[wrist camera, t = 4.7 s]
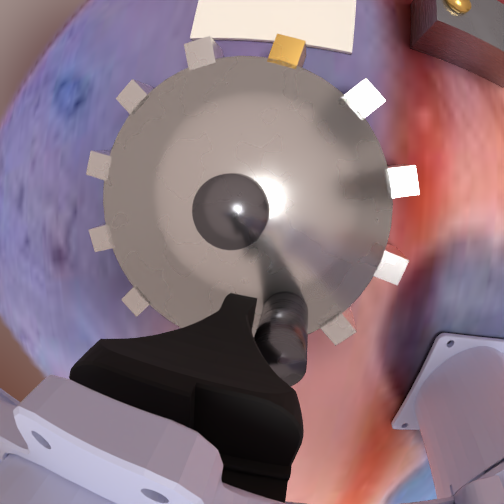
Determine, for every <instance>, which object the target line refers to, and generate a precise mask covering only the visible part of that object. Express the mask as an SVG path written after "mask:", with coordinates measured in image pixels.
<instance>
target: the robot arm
mask: <svg viewBox="0 0 504 504" xmlns="http://www.w3.org/2000/svg"><path fill="white" fill-rule="evenodd" d="M256 304H257V298H254V297H249V296H244V295H239V294H234V293H230V294H228V295H227V296H226V297H225V299H224V301H223V303H222V305H221V308H220V310H218V311H217V312H215V313H214V314H212V315H210V316H208V317H206V318H204V319H203V320H201V321H198V322H196V323H194V324H191V325H189V326H186V327H183V328H181V329H178V330H174V331H170V332H166V333H162V334H158V335H153V336H147V337H139V338H129V339H100V340H99V341H98V342H97V343H96V344H95V345H94V346H93V347H91V348H90V349H89V350H88V351H87V352H86V353H85V354H84V355H83V356H82V357H81V358H80V359H79V360H78V361H77V362H76V363H75V365H74V366H73V367H72V368H71V371H70V376H69V378H70V379H66V378H62V377H58V376H54V375H49V376H48V377H47V378H46V379H44V380H43V381H42V382H41V383H40V384H39V385H38V386H37V387H36V388H35V389H34V390H33V391H32V392H31V393H30V394H29V395H28V396H27V397H26V398H25V399H24V400H23V401H22V402H21V403H20V402H19V401H17V400H16V399H14V398H13V397H12V396H10V395H9V394H8V393H6V392H5V391H3V390H2V389H1V388H0V504H305V503H294V502H285V498H286V490H287V482H288V480H289V478H290V474H291V465H292V463H293V461H294V459H295V456H296V454H297V452H298V450H299V448H300V446H301V443H302V439H303V420H302V414H301V409H300V404H299V401H298V397H297V394H296V391H295V390H294V389H293V388H292V387H290V386H289V385H288V384H287V383H286V382H284V381H283V380H282V379H281V378H280V377H279V376H278V375H277V374H276V373H275V372H274V371H273V370H272V368H271V367H270V366H269V364H268V363H267V361H266V360H265V359H264V357H263V355H262V354H261V352H260V350H259V348H258V346H257V344H256V342H255V340H254V337H253V334H252V327H253V321H254V315H255V309H256ZM450 340H452V341H451V342H450V343H449V344H447V343H448V342H449V341H450ZM404 423H405V424H404ZM391 424H392V428H393V429H398V430H420V431H421V435H422V438H423V442H424V445H425V449H426V453H427V456H428V460H429V464H430V468H431V472H432V476H433V481H434V485H435V489H436V494H437V499H435V500H428V501H420V502H412V503H402V504H504V339H496V338H486V337H477V336H468V335H459V334H451V333H441V334H439V335H438V336H437V337H436V339H435V341H434V343H433V346H432V348H431V350H430V352H429V354H428V356H427V358H426V360H425V363H424V365H423V367H422V369H421V371H420V373H419V375H418V376H417V378H416V380H415V382H414V384H413V386H412V388H411V390H410V391H409V393H408V395H407V397H406V399H405V400H404V402H403V404H402V406H401V407H400V409H399V411H398V412H397V414H396V416H395V417H394V419H393V421H392V423H391Z"/></svg>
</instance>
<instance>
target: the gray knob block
mask: <svg viewBox="0 0 504 504" xmlns="http://www.w3.org/2000/svg"><path fill="white" fill-rule="evenodd" d="M410 49H413V50H416V51H419V52H422V53H425V54H428V55H431V56H434V57H436V58H439V59H441V60H444V61H447V62H449V63H452V64H454V65H456V66H459V67H461V68H463V69H466V70H468V71H470V72H472V73H475V74H477V75H479V76H481V77H483V78H485V79H487V80H489V81H491V82H493V83H495V84H497V85H499V86H501V87H504V4H502V3H500V2H499V1H497V0H413V1H412V3H411V39H410Z"/></svg>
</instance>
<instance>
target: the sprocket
mask: <svg viewBox="0 0 504 504" xmlns="http://www.w3.org/2000/svg"><path fill="white" fill-rule="evenodd" d="M184 47H185V52H186V57H187V62H188V67H189V68H186V69H184V70H182V71H180V72H178V73H177V74H175V75H173V76H171V77H170V78H168V79H166V80H165V81H164V82H162V83H161V84H160V85H158V86H157V87H156V88H153V87H152V86H149V85H147V84H144V83H141V82H139V81H136V80H133V79H132V80H131V81H130V83H129V84H128V85H127V86H126V87H125V88H124V90H123V91H122V92H121V93H120V94H119V95H118V97H117V98H116V99H117V100H118V101H119V102H120V104H121V105H122V106H123V107H124V108H125V109H126V110H127V111H128V113H129V114H130V115H129V117H128V118H127V119H126V121H125V123H124V125H123V126H122V128H121V130H120V132H119V133H118V135H117V138H116V140H115V142H114V145H113V147H112V150H99V151H91V153H90V157H89V162H88V167H87V173H86V174H87V175H90V176H93V177H96V178H99V179H102V180H104V196H103V204H104V215H105V222H106V223H105V224H102V225H100V226H97V227H94V228H92V229H89V233H90V236H91V240H92V244H93V247H94V250H95V252H98V251H102V250H107V249H111V248H113V251H114V254H115V256H116V258H117V260H118V262H119V264H120V266H121V268H122V270H123V272H124V273H125V275H126V276H127V278H128V280H129V281H130V283H131V284H132V285H133V288H132V289H131V290H130V291H129V292H128V293H127V294H126V295H125V296H124V297H123V298H122V301H123V302H124V303H125V304H126V306H127V307H128V308H129V309H130V310H131V311H132V312H133V313H134V314H135V316H136V317H137V316H138V315H139V314H140V313H141V312H142V311H143V310H145V309H146V308H147V307H148V306H149V305H150V306H152V307H153V308H154V309H155V310H156V311H157V312H159V313H160V314H161V315H162V316H164V317H165V318H166V319H168V320H169V321H171V322H172V323H174V324H176V325H177V326H179V327H180V328H183V327H186V326H189V325H191V324H194V323H196V322H198V321H201V320H203V319H204V318H206V317H208V316H210V315H212V314H214V313H215V312H217V311H218V310H220V308H221V305H222V303H223V301H224V299H225V297H226V296H227V295H228V294H230V293H234V294H239V295H244V296H249V297H254V298H257V304H256V309H255V315H254V321H253V327H252V334H253V337H254V340H255V342H256V344H257V346H258V348H259V350H260V352H261V354H262V355H263V357H264V359H265V360H266V361H267V363H268V364H269V366H270V367H271V368H272V370H273V371H274V372H275V373H276V374H277V375H278V376H279V377H280V378H281V379H282V380H283V381H284V382H286V383H287V384H288V385H289V386H292V385H294V384H296V383H298V382H299V381H300V380H301V379H302V378H303V376H304V374H305V372H306V365H307V338H308V334H310V333H312V332H314V331H316V330H318V329H321V330H322V331H323V332H324V333H325V334H326V335H327V337H328V338H329V339H330V340H331V341H332V342H333V343H334V344H335V346H336V345H337V344H339V343H341V342H342V341H344V340H345V339H347V338H348V337H350V336H351V335H353V334H354V333H356V332H357V331H356V327H355V322H354V318H353V314H352V311H351V310H350V309H349V307H350V305H351V304H352V303H353V302H354V301H355V300H356V299H357V298H358V297H359V296H360V295H361V293H362V292H363V291H364V289H365V288H366V287H367V285H368V284H369V282H370V281H371V279H372V277H373V276H375V277H377V278H380V279H382V280H385V281H388V282H390V283H393V284H395V285H398V283H399V281H400V279H401V277H402V275H403V273H404V271H405V268H406V266H407V264H408V262H409V260H408V259H407V258H406V257H405V256H404V254H403V253H402V252H401V251H400V250H399V249H398V248H397V247H394V246H392V245H390V244H387V242H388V238H389V233H390V228H391V221H392V206H393V202H392V198H397V197H405V196H412V195H419V186H418V178H417V171H416V165H406V164H399V165H391V166H387V162H386V160H385V157H384V154H383V152H382V149H381V146H380V144H379V142H378V140H377V138H376V136H375V134H374V132H373V131H372V129H371V127H370V125H369V124H368V122H367V121H366V120H365V117H367V116H368V115H369V114H370V113H372V112H373V111H374V110H375V109H377V108H378V107H379V106H380V105H381V104H383V103H384V102H385V101H386V100H385V99H384V98H383V96H382V95H381V94H380V93H379V92H378V91H377V90H376V88H375V87H374V86H373V85H372V84H371V83H370V82H369V81H368V80H367V79H366V78H365V79H364V80H363V81H361V82H360V83H359V84H358V85H356V86H355V87H354V88H353V89H351V90H350V91H349V92H347V93H346V94H345V95H343V94H342V93H341V92H340V91H339V90H338V89H336V88H335V87H334V86H332V85H331V84H330V83H328V82H327V81H325V80H324V79H323V78H321V77H319V76H317V75H315V74H313V73H312V72H310V71H308V70H306V69H304V68H302V66H303V63H304V60H305V58H306V41H304V40H301V39H297V38H293V37H289V36H285V35H281V34H277V35H276V38H275V40H274V43H273V46H272V49H271V51H270V54H269V57H268V58H265V57H254V56H235V57H225V58H224V55H223V51H222V49H221V48H220V47H219V45H218V44H217V43H216V42H215V41H214V40H213V39H212V37H211V36H207V37H204V38H201V39H198V40H195V41H192V42H189V43H186V44H184Z"/></svg>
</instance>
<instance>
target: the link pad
mask: <svg viewBox="0 0 504 504" xmlns="http://www.w3.org/2000/svg"><path fill="white" fill-rule="evenodd" d="M355 10H356V0H199V1H198V6H197V10H196V14H195V18H194V23H193V27H192V32H191V36H190V38H191V39H192V40H198V39H201V38H204V37H207V36H211V37H212V39H213V40H243V41H260V42H272V43H274V40H275V38H276V35H277V34H281V35H285V36H289V37H293V38H297V39H301V40H304V41H306V47H313V48H319V49H325V50H331V51H336V52H341V53H346V54H352V47H353V36H354V24H355Z"/></svg>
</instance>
